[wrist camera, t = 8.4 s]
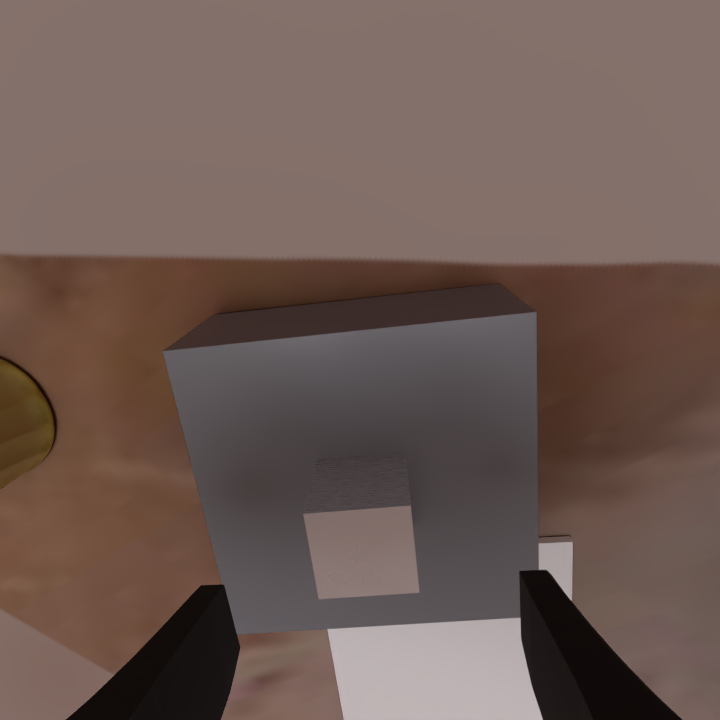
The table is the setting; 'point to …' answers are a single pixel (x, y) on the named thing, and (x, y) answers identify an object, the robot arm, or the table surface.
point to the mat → (443, 663)
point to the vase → (22, 424)
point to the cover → (366, 457)
